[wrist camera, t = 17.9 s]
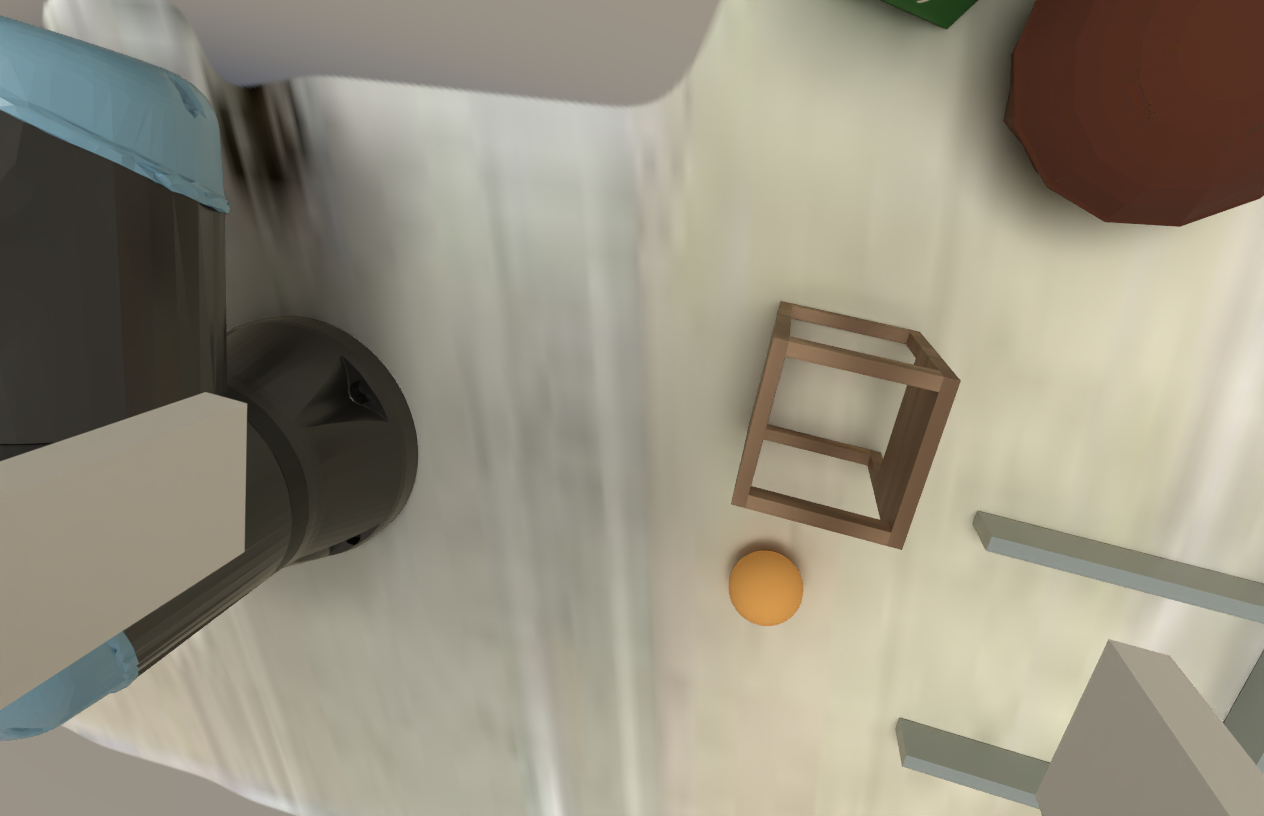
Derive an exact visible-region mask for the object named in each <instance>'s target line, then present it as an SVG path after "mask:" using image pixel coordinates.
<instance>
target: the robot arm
mask: <svg viewBox="0 0 1264 816" xmlns="http://www.w3.org/2000/svg"><path fill="white" fill-rule="evenodd" d="M229 212H230V203H229V201H228V200H227V199H226V198H225V196H224V182H223V169H222V156H221V142H220V129H219V124H218V120H217V117H216V114H215V112H214V109H213V108H212V106H211V104H210V103H209V101H208V100H207V98H206V97H205V96H204V95H203V94H202V93H201V92H200V91H199V90H198V89H197V88H196V87H195V86H194V85H193V84H191V83H190V82H188V81H187V80H186V79H184V78H182V77H181V76H179V75H177V74H175V73H173V72H171V71H168V70H166V69H163V68H161V67H158V66H155V65H153V64H150V63H147V62H144V61H142V60H139V59H136V58H133V57H130V56H127V55H124V54H121V53H118V52H115V51H112V50H109V49H106V48H103V47H100V46H97V45H94V44H91V43H88V42H85V41H82V40H79V39H75V38H72V37H69V36H66V35H63V34H60V33H56V32H53V31H50V30H47V29H44V28H40V27H37V26H34V25H31V24H27V23H24V22H21V21H18V20H14V19H11V18H8V17H4V16H1V15H0V741H10V740H18V739H24V738H29V737H33V736H36V735H40V734H42V733H44V732H47V731H49V730H52V729H54V728H56V727H58V726H60V725H61V724H63V723H65V722H66V721H68V720H69V719H71V718H72V717H74V716H75V715H77V714H78V713H80V712H82V711H83V710H85V709H86V708H88V707H89V706H91V705H92V704H94V703H96V702H97V701H99V700H100V699H102V698H103V697H105V696H106V695H108V694H110V693H115V692H117V691H120V690H121V689H123V688H126V687H127V686H128V685H130V684H131V683H132V682H133V681H134V680H135V679H136V678H137V677H138V676H139V675H141V674H142V673H143V672H145V671H146V670H147V669H149V668H150V667H151V666H153V665H154V664H155V663H157V662H158V661H159V660H161V659H162V658H163V657H165V656H166V655H167V654H169V653H170V652H171V651H172V650H174V649H175V648H176V647H178V646H179V645H180V644H182V643H183V642H184V641H186V640H187V639H188V638H190V637H191V636H192V635H194V634H195V633H196V632H198V631H199V630H200V629H202V628H203V627H204V626H206V625H207V624H208V623H210V622H211V621H212V620H213V619H215V618H216V617H217V616H219V615H220V614H221V613H223V612H224V611H225V610H227V609H228V608H229V607H231V606H232V605H233V604H235V603H236V602H237V601H239V600H240V599H241V598H243V597H244V596H245V595H247V594H248V593H249V592H250V591H252V590H253V589H254V588H256V587H257V586H258V585H260V584H261V583H262V582H264V581H265V580H266V579H267V578H269V577H270V576H272V575H273V574H274V573H276V572H277V571H279V570H280V569H281V568H284V567H288V566H291V565H295V564H299V563H303V562H307V561H311V560H315V559H319V558H323V557H327V556H330V555H335V554H338V553H342V552H345V551H348V550H351V549H353V548H355V547H357V546H359V545H361V544H363V543H365V542H366V541H368V540H369V539H371V538H372V537H373V536H375V535H376V534H377V533H379V532H380V531H381V530H382V529H384V528H385V527H386V526H387V525H388V524H389V523H391V522H392V521H393V520H394V519H395V517H396V516H397V515H398V514H399V513H400V511H401V510H402V508H403V507H404V505H405V504H406V502H407V500H408V498H409V496H410V493H411V491H412V488H413V485H414V482H415V477H416V472H417V464H418V445H417V436H416V430H415V426H414V422H413V418H412V415H411V412H410V409H409V407H408V404H407V402H406V399H405V397H404V395H403V393H402V391H401V389H400V388H399V386H398V384H397V383H396V381H395V379H394V378H393V376H392V375H391V374H390V372H389V371H388V370H387V368H386V367H385V366H384V365H383V363H382V362H381V361H380V360H379V359H378V358H377V357H376V356H375V355H374V354H373V353H372V352H371V351H370V350H369V349H368V348H366V347H365V346H364V345H363V344H362V343H360V342H359V341H358V340H356V339H355V338H353V337H352V336H350V335H349V334H347V333H346V332H344V331H342V330H340V329H338V328H336V327H334V326H332V325H329V324H327V323H324V322H321V321H318V320H314V319H310V318H305V317H297V316H280V317H272V318H268V319H263V320H259V321H255V322H251V323H247V324H244V325H241V326H239V327H236V328H234V329H232V330H230V331H228V332H226V269H225V213H226V214H229ZM1035 798H1036V800H1037V803H1038V805H1039V808H1040V811H1041V813H1042V816H1264V774H1263V773H1262V772H1261V770H1260V769H1259V768H1258V767H1257V765H1256V764H1255V763H1254V762H1253V760H1252V759H1251V758H1250V757H1249V755H1248V754H1247V753H1246V751H1245V750H1244V749H1243V748H1242V746H1241V745H1240V744H1239V743H1238V741H1237V740H1236V739H1235V738H1234V736H1233V735H1232V734H1231V733H1230V731H1229V730H1228V729H1227V727H1226V726H1225V725H1224V724H1223V722H1222V721H1221V720H1220V719H1219V717H1218V716H1217V715H1216V714H1215V712H1214V711H1213V710H1212V708H1211V707H1210V706H1209V705H1208V703H1207V702H1206V701H1205V700H1204V698H1203V697H1202V696H1201V695H1200V693H1199V692H1198V691H1197V690H1196V688H1195V687H1194V686H1193V684H1192V683H1191V682H1190V681H1189V679H1188V678H1187V677H1186V676H1185V674H1184V673H1183V672H1182V671H1181V669H1180V668H1179V667H1178V665H1177V664H1176V663H1175V662H1174V660H1173V659H1172V658H1171V657H1170V656H1168V655H1165V654H1161V653H1157V652H1154V651H1150V650H1146V649H1143V648H1139V647H1135V646H1132V645H1128V644H1125V643H1121V642H1117V641H1114V640H1110V639H1109V640H1108V642H1107V644H1106V646H1105V648H1104V650H1103V653H1102V655H1101V657H1100V659H1099V661H1098V663H1097V665H1096V667H1095V670H1094V672H1093V674H1092V676H1091V678H1090V680H1089V682H1088V684H1087V686H1086V689H1085V691H1084V693H1083V695H1082V697H1081V699H1080V701H1079V703H1078V706H1077V708H1076V710H1075V712H1074V714H1073V716H1072V718H1071V720H1070V722H1069V725H1068V727H1067V729H1066V731H1065V733H1064V735H1063V737H1062V739H1061V741H1060V744H1059V746H1058V748H1057V750H1056V752H1055V754H1054V756H1053V758H1052V761H1051V763H1050V765H1049V767H1048V769H1047V771H1046V773H1045V775H1044V777H1043V780H1042V782H1041V784H1040V786H1039V788H1038V790H1037V792H1036V794H1035Z"/></svg>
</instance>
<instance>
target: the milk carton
mask: <svg viewBox="0 0 1264 816" xmlns="http://www.w3.org/2000/svg"><path fill="white" fill-rule="evenodd" d="M882 1H884V2H886V3H888V4H891V5H893V6H895V7H898V8H900V9H902V10H904V11H907V12H909V13H911V14H914V15H916V16H918V17H920V18H923V19H925V20H927V21H930V22H932V23H934V24H936V25H939V26H941V27H943V28H945V29H948V28H949V27H950V26H951V25H952V24H953V23H954V22H955V21H956V20H957V19H958V18H959V17H960V16H962V15H963V14H964V13H965V12H966V11H967V10H968V9H969V8H970V7H971V6H972V5H973V4H975V3H976V2H977V1H978V0H882Z"/></svg>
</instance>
